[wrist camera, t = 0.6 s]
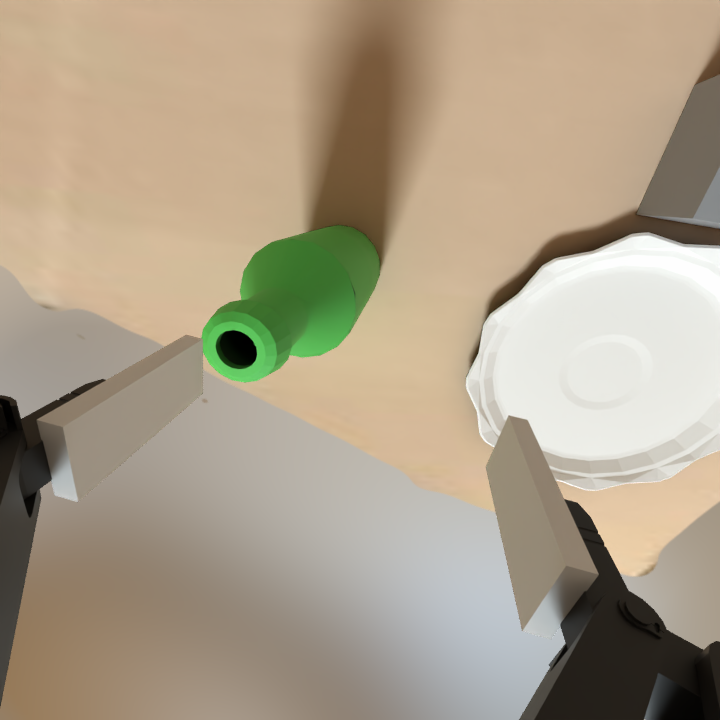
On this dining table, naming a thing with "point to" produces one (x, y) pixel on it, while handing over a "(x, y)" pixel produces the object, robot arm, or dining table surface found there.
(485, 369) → the plate
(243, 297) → the bottle
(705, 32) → the dining table surface
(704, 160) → the housing
